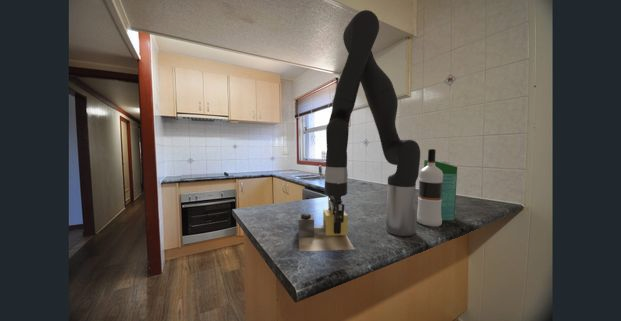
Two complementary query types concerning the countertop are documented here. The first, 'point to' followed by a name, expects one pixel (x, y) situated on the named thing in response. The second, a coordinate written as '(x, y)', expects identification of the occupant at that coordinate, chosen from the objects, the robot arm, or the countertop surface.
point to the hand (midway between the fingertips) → (334, 228)
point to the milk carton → (447, 188)
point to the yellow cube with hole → (329, 223)
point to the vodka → (430, 193)
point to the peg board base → (319, 237)
